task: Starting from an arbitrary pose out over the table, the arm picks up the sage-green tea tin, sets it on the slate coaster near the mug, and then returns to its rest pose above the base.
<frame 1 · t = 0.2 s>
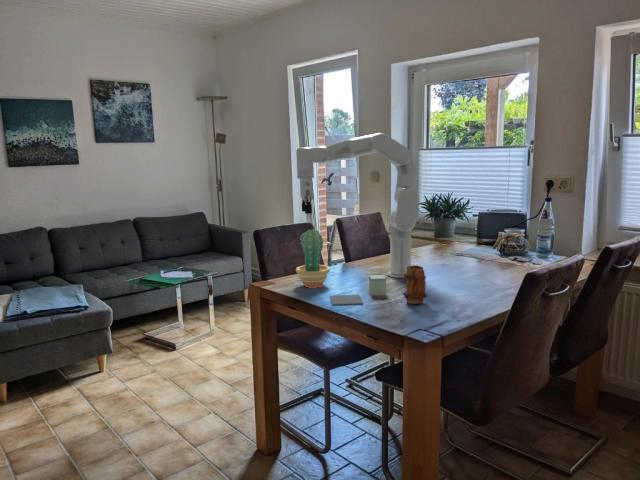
hand: (306, 212, 231), 31 cm above the table, fingers open, 9 cm apart
potted cactus: (313, 286, 222), on the table
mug: (416, 305, 191), on the table
slate coaster: (346, 300, 198), on the table
tea tin: (377, 293, 208), on the table
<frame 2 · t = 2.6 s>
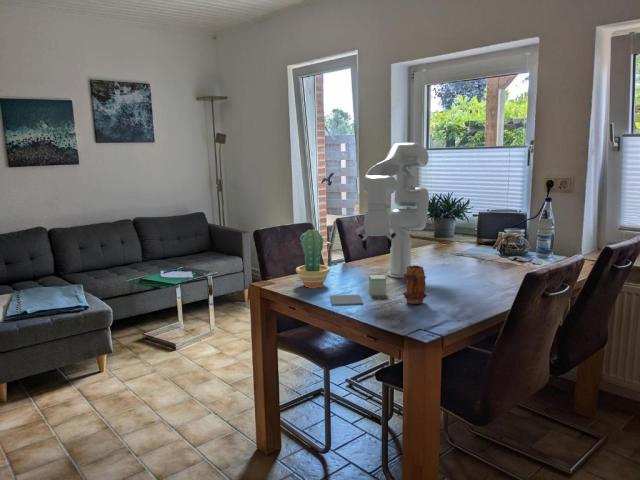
hand: (376, 249, 205), 19 cm above the table, fingers open, 9 cm apart
nothing on the table moved.
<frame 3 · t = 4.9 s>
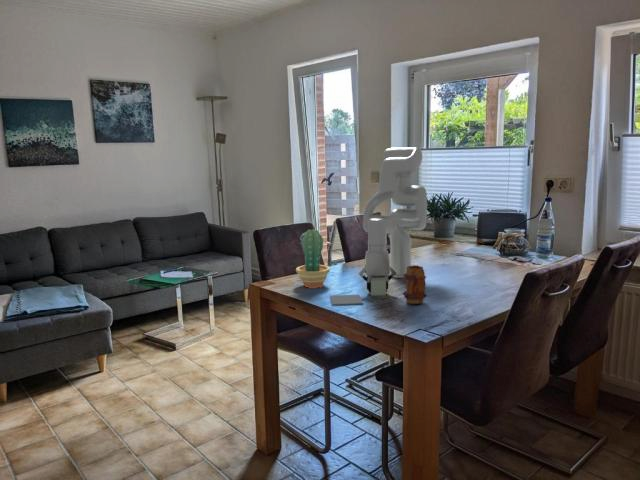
hand: (377, 290, 208), 1 cm above the table, fingers closed on tea tin, 6 cm apart
tea tin: (377, 293, 208), on the table, touching gripper
everything else where it was.
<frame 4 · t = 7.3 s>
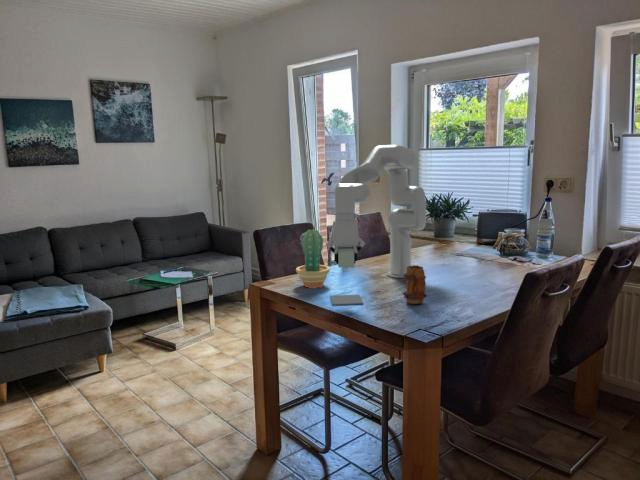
hand: (345, 262, 196), 15 cm above the table, fingers closed on tea tin, 6 cm apart
tea tin: (345, 265, 196), point 14 cm above the table, touching gripper
everything else where it was.
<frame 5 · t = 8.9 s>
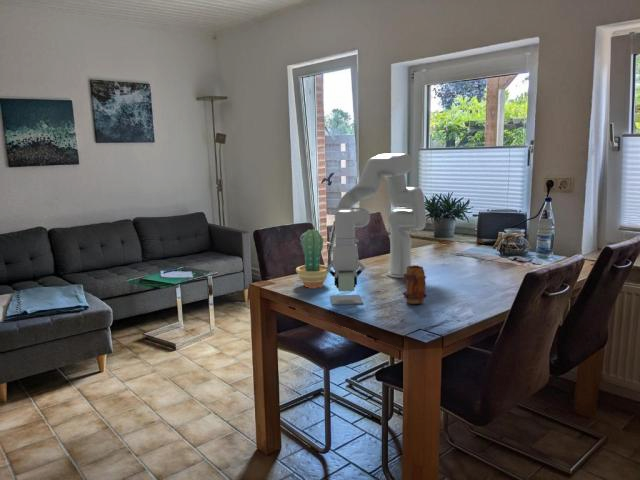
hand: (345, 286, 197), 6 cm above the table, fingers closed on tea tin, 6 cm apart
tea tin: (345, 289, 197), point 5 cm above the table, touching gripper
everything else where it was.
when the fingers open (2 cm above the table, at t = 10.1 s): tea tin stays where it is, resting on slate coaster.
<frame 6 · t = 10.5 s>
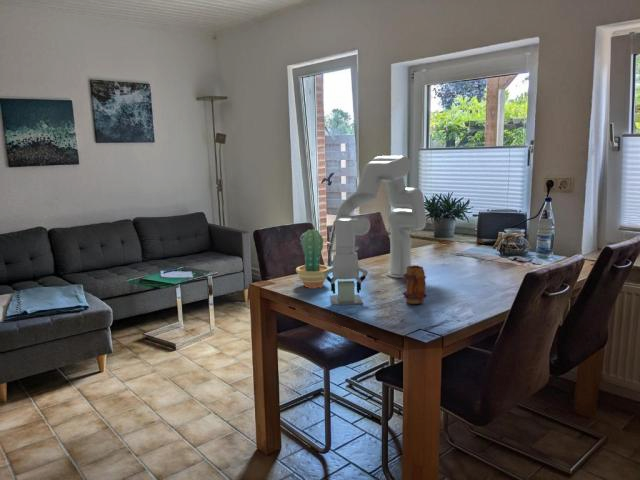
hand: (346, 292, 198), 3 cm above the table, fingers open, 9 cm apart
tea tin: (346, 299, 198), point 1 cm above the table, touching slate coaster
everything else where it was.
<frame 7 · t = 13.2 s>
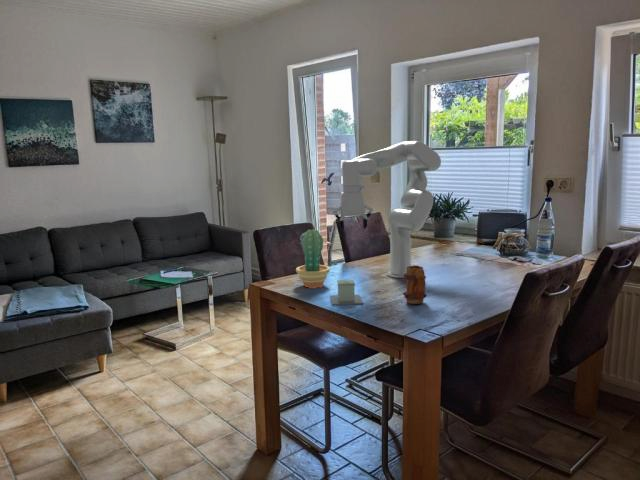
hand: (353, 228, 217), 25 cm above the table, fingers open, 9 cm apart
nothing on the table moved.
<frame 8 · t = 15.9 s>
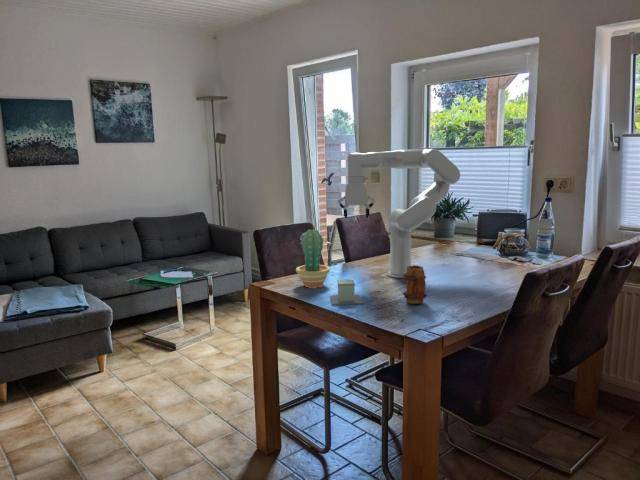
hand: (356, 217, 231), 28 cm above the table, fingers open, 9 cm apart
nothing on the table moved.
at the end: tea tin inside the target area on the slate coaster (0.0 cm from its centre), point 0.6 cm above the slate coaster's base; tea tin tilted 0°; the gripper is holding nothing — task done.
